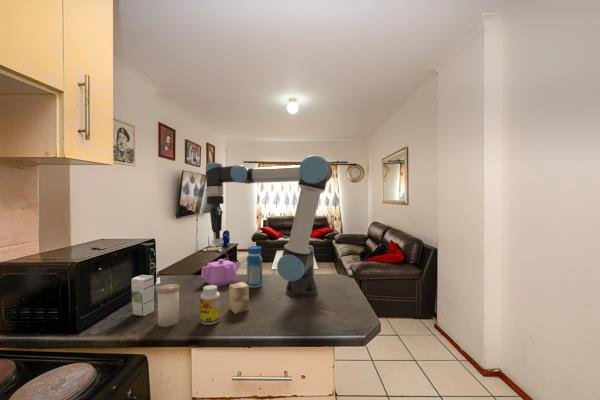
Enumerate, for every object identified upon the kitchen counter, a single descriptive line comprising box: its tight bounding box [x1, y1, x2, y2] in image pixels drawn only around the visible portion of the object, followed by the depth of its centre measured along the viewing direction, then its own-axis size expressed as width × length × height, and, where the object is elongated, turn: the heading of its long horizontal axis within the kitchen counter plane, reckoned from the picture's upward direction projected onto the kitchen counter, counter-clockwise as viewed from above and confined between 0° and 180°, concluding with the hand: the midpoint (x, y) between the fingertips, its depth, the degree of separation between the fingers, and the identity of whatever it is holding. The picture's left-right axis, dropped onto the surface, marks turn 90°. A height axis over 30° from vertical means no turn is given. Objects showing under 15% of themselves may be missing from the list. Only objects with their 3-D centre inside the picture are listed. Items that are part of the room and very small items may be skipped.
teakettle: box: [200, 258, 241, 287], centre depth 149 cm, size 17×17×12 cm
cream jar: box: [156, 283, 180, 328], centre depth 101 cm, size 7×7×13 cm
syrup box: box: [131, 274, 155, 317], centre depth 109 cm, size 6×6×14 cm
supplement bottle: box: [199, 284, 221, 326], centre depth 102 cm, size 7×7×13 cm
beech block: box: [228, 281, 250, 314], centre depth 114 cm, size 6×6×10 cm
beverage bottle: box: [245, 245, 264, 289], centre depth 144 cm, size 8×8×20 cm
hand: (217, 245), depth 130 cm, fingers closed
